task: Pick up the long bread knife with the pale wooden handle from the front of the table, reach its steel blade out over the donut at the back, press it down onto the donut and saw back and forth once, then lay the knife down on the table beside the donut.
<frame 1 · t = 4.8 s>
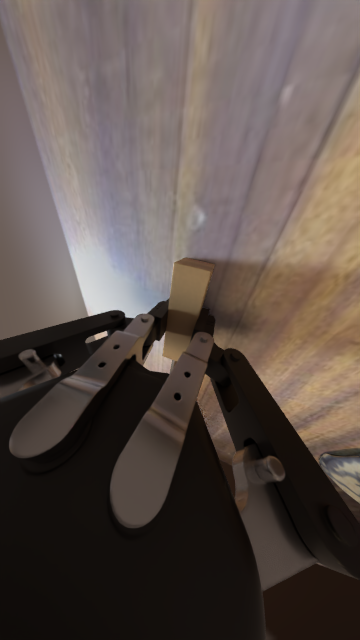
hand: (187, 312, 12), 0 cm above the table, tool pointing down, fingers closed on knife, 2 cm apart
knife: (165, 410, 26), on the table, touching gripper
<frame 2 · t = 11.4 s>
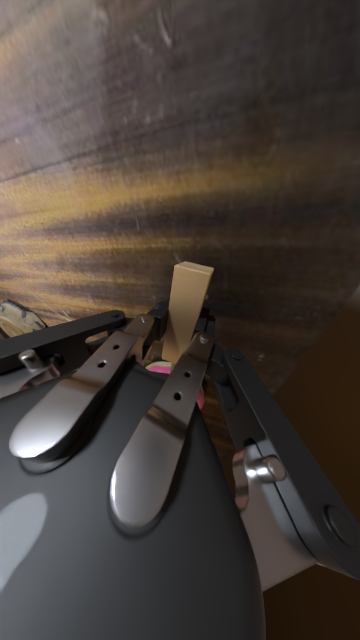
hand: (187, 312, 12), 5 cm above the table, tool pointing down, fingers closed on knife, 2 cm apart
decorative bowl: (31, 324, 35), on the table
donut: (175, 377, 27), on the table
knife: (163, 416, 26), point 5 cm above the table, touching gripper
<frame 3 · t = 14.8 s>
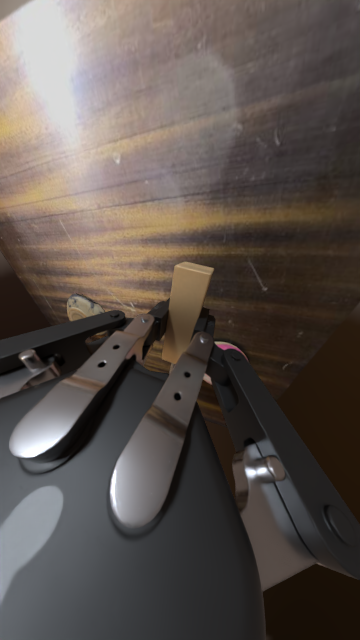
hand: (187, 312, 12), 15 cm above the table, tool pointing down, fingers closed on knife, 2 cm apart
decorative bowl: (90, 315, 41), on the table
donut: (219, 356, 34), on the table
knife: (163, 417, 25), point 16 cm above the table, touching gripper
when the fingers open (0 cm above the table, at t = 18.2 s): knife drops 1 cm, on the table.
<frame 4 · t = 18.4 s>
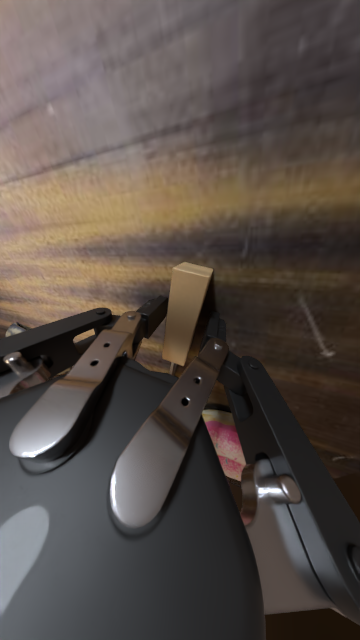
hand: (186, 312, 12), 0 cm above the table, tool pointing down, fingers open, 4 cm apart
decorative bowl: (43, 349, 29), on the table
donut: (226, 424, 22), on the table
knife: (165, 411, 26), on the table
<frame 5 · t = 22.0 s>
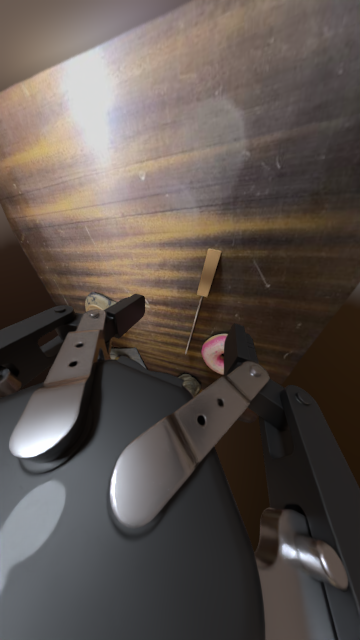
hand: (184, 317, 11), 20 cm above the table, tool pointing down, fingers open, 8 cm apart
decorative bowl: (106, 311, 45), on the table
stuffed giraffe: (127, 360, 57), on the table
seashell: (185, 380, 51), on the table
donut: (226, 348, 37), on the table
knife: (187, 348, 42), on the table
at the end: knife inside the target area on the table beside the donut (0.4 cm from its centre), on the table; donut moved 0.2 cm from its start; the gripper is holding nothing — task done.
